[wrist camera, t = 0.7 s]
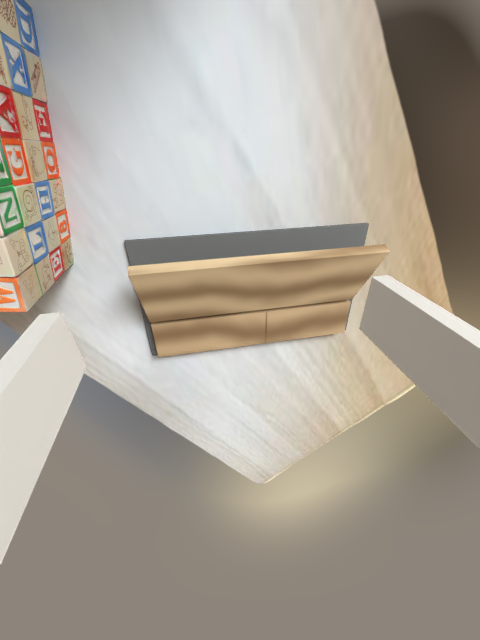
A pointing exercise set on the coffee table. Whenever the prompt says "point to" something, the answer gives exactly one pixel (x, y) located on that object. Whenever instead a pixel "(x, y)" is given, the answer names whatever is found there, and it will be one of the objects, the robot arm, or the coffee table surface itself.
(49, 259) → the stack of blocks
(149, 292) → the board
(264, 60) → the coffee table surface
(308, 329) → the laid plank
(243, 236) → the underlay
